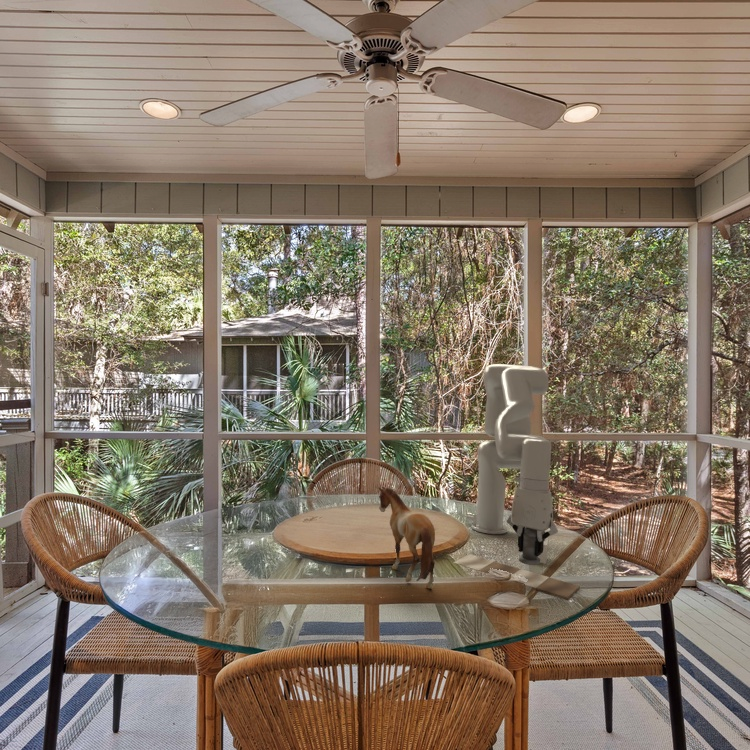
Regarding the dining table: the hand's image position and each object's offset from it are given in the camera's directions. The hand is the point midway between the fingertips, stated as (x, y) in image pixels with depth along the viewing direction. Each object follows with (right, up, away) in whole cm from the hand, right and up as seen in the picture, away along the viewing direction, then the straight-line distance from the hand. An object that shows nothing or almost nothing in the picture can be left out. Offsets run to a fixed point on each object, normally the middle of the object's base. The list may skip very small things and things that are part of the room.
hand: (530, 552), depth 139 cm
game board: (-4, -7, +3) cm, 9 cm away
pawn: (0, -2, 0) cm, 2 cm away
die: (+7, -8, +16) cm, 19 cm away
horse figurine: (-36, -6, -3) cm, 36 cm away
